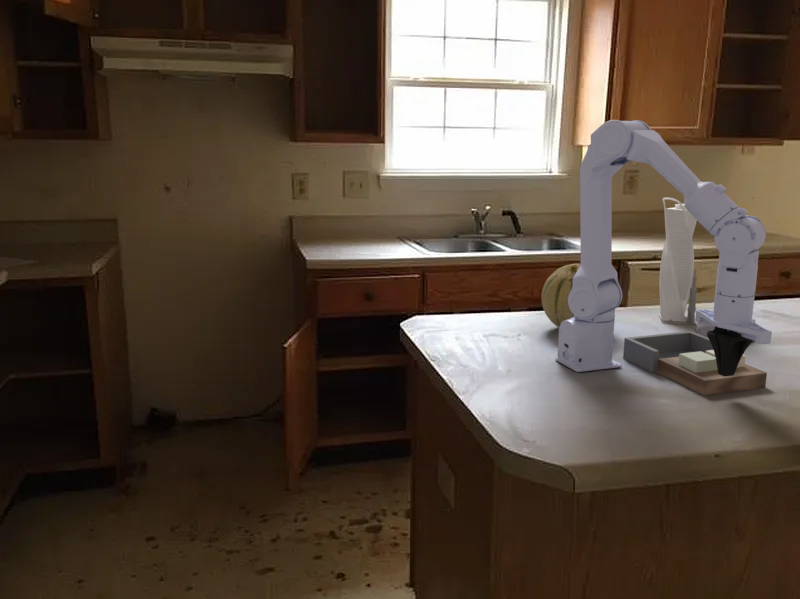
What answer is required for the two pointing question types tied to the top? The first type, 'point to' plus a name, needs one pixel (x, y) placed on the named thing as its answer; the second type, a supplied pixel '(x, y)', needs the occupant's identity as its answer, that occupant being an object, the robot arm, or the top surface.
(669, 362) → the walnut board
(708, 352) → the cream tile
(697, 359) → the sage tile
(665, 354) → the box
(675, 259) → the skyscraper
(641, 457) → the top surface
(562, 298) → the cantaloupe
